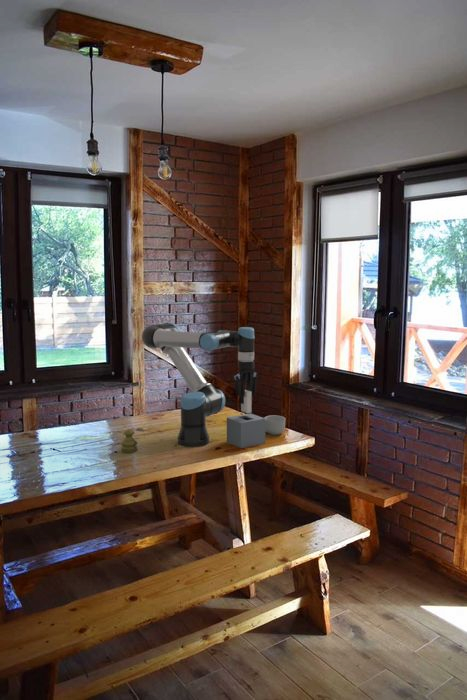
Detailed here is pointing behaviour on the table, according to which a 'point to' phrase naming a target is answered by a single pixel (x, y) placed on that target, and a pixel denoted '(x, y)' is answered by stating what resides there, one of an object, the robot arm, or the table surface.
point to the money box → (245, 430)
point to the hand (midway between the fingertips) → (246, 409)
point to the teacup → (274, 424)
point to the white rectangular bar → (248, 401)
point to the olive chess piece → (129, 442)
